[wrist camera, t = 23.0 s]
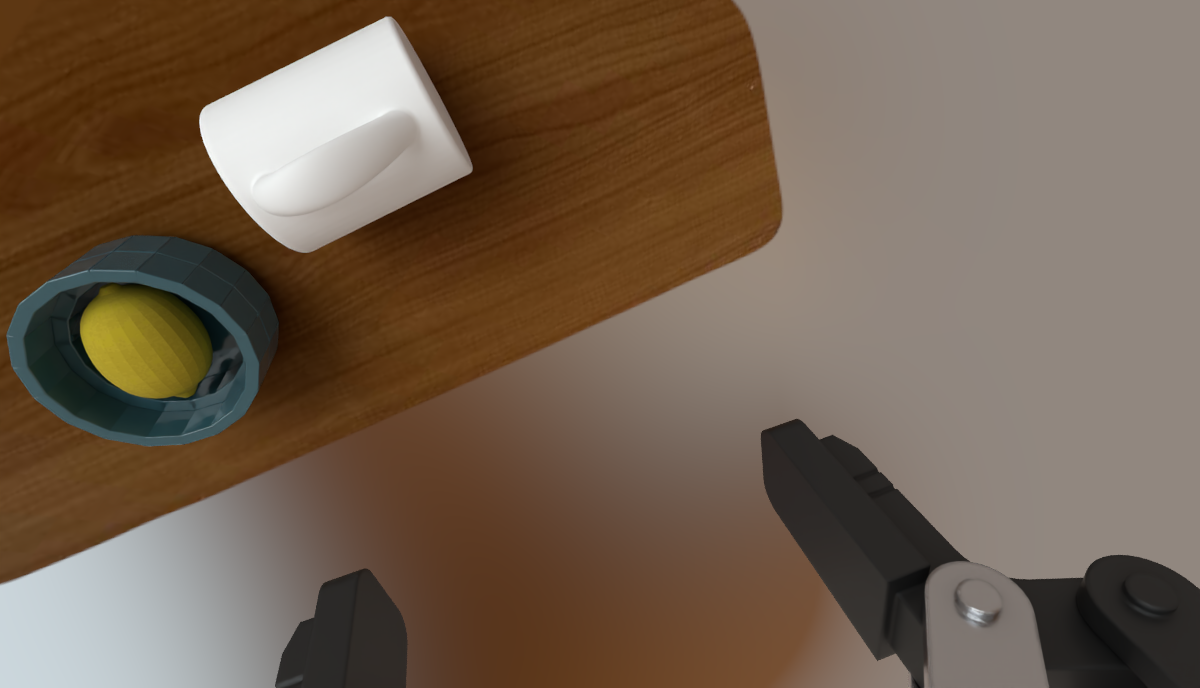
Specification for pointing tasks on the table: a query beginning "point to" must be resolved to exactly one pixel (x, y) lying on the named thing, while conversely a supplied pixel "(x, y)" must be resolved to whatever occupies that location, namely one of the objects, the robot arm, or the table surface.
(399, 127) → the mug
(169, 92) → the table surface
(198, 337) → the lemon
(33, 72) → the table surface
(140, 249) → the bowl
